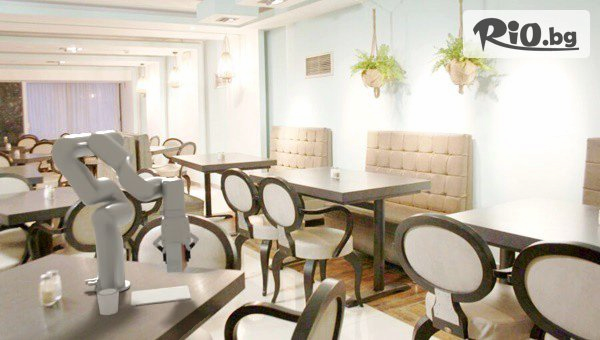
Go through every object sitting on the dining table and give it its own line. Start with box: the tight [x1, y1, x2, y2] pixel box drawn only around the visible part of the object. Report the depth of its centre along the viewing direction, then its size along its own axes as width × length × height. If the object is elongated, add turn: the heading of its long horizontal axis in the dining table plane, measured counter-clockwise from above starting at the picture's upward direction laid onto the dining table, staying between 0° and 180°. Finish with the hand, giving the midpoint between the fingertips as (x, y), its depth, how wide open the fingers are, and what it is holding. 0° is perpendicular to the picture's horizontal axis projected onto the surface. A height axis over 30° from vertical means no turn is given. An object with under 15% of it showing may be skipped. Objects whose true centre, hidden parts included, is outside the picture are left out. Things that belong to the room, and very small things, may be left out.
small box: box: [166, 242, 188, 274], centre depth 187 cm, size 8×6×10 cm
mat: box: [130, 285, 192, 307], centre depth 187 cm, size 20×13×1 cm, turn 107°
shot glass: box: [96, 288, 120, 316], centre depth 173 cm, size 7×7×7 cm
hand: (177, 261), depth 187 cm, fingers closed on small box, 6 cm apart
